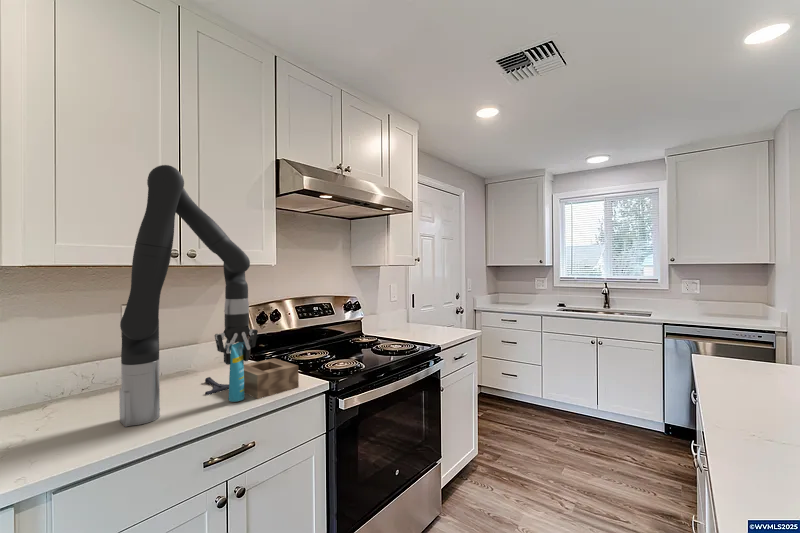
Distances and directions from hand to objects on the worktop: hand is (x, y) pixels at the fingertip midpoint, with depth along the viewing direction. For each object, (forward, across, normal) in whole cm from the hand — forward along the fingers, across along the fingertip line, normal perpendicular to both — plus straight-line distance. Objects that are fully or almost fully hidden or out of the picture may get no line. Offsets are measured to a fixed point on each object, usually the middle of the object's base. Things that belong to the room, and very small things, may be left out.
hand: (237, 362), depth 127 cm
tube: (+13, 0, 0) cm, 13 cm away
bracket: (+14, +2, +21) cm, 25 cm away
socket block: (+13, +13, +4) cm, 19 cm away
